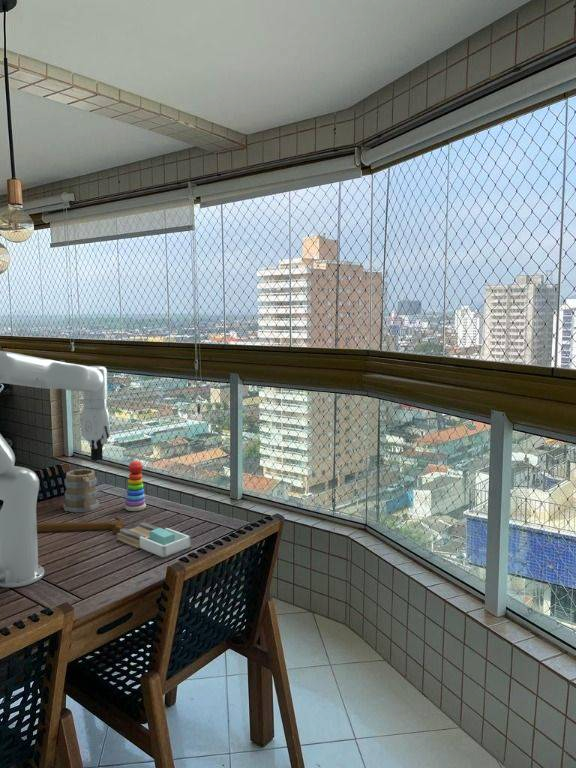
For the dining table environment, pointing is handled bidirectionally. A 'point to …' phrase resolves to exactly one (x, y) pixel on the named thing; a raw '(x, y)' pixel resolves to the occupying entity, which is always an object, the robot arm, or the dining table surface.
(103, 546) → the dining table surface
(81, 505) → the tankard
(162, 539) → the light teal cube
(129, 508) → the stacking toy
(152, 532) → the teal cube block
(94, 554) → the dining table surface
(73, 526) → the hammer
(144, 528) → the slot board
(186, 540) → the tray
